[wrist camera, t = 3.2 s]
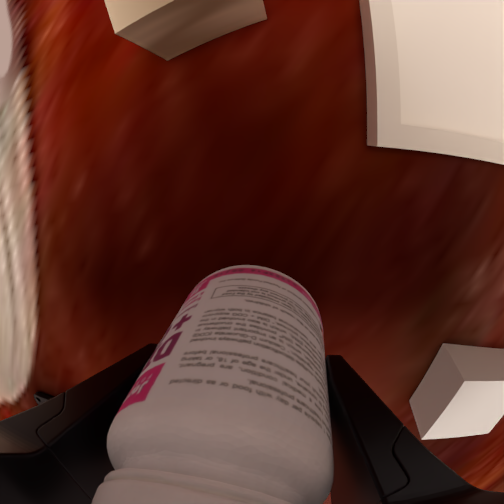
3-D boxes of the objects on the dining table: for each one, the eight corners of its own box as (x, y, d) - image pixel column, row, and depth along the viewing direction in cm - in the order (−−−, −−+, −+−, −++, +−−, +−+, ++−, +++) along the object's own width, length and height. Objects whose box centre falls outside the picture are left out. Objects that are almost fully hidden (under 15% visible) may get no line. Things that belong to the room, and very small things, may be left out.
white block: (408, 398, 14) (421, 439, 11) (441, 341, 13) (464, 380, 10) (471, 398, 14) (488, 433, 11) (504, 347, 13) (528, 380, 10)
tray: (366, 145, 10) (377, 146, 9) (340, -97, 6) (343, -114, 5) (571, 182, 9) (588, 187, 7) (544, -23, 5) (557, -29, 3)
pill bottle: (187, 249, 10) (8, 477, 2) (336, 273, 10) (394, 563, 2) (184, 362, 12) (98, 555, 4) (304, 383, 11) (296, 597, 4)
